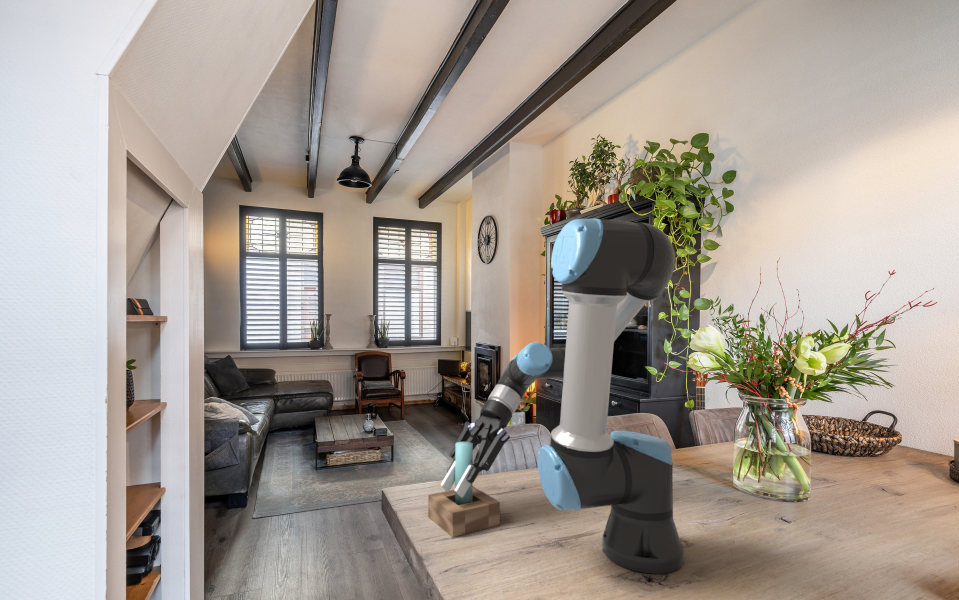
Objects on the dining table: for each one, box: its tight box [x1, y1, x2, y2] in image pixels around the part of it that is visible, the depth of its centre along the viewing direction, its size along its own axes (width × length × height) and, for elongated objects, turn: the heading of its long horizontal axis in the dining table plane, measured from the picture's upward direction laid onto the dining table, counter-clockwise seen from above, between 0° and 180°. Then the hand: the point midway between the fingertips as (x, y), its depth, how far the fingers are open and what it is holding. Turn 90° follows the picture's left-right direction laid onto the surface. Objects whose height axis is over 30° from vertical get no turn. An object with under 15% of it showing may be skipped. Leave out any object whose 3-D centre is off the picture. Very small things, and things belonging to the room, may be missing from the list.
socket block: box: [427, 485, 501, 538], centre depth 105 cm, size 12×12×5 cm
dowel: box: [454, 441, 474, 505], centre depth 106 cm, size 4×4×14 cm
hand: (451, 491), depth 103 cm, fingers closed on dowel, 4 cm apart
